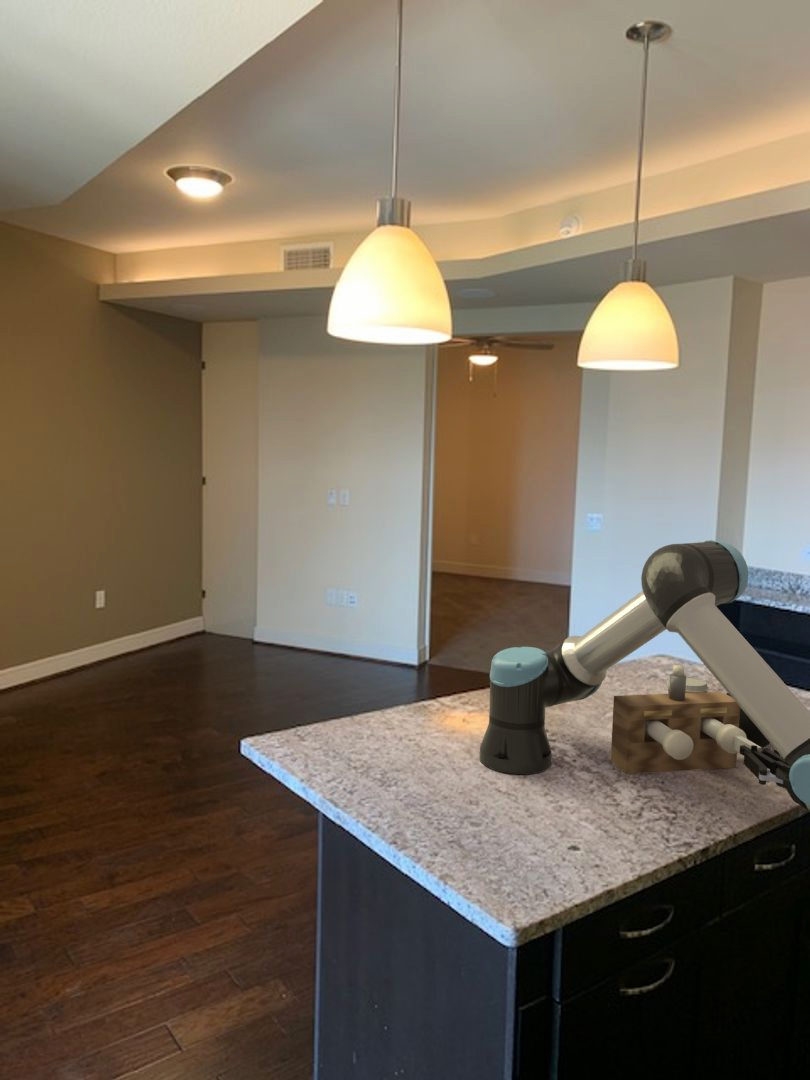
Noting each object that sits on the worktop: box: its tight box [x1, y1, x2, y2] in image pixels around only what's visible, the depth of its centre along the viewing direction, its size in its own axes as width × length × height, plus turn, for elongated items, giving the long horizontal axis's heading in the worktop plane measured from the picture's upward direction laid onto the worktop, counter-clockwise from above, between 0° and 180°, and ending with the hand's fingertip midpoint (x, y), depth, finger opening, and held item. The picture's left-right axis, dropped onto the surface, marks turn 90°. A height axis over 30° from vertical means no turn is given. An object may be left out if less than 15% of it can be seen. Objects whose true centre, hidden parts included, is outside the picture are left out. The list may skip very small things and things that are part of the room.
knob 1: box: [645, 719, 693, 760], centre depth 158 cm, size 5×15×5 cm, turn 11°
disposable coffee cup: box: [665, 675, 710, 694], centre depth 186 cm, size 10×10×12 cm
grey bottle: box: [668, 664, 687, 701], centre depth 163 cm, size 3×3×7 cm
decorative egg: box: [726, 692, 771, 748], centre depth 175 cm, size 12×12×15 cm
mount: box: [610, 691, 740, 775], centre depth 164 cm, size 25×7×14 cm, turn 101°
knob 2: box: [700, 717, 747, 754], centre depth 161 cm, size 5×15×5 cm, turn 11°
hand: (737, 742), depth 154 cm, fingers closed
